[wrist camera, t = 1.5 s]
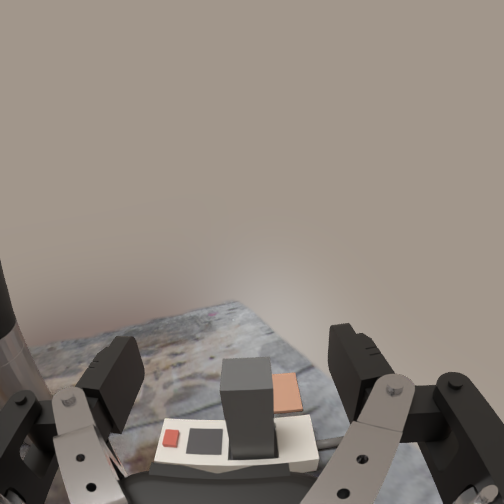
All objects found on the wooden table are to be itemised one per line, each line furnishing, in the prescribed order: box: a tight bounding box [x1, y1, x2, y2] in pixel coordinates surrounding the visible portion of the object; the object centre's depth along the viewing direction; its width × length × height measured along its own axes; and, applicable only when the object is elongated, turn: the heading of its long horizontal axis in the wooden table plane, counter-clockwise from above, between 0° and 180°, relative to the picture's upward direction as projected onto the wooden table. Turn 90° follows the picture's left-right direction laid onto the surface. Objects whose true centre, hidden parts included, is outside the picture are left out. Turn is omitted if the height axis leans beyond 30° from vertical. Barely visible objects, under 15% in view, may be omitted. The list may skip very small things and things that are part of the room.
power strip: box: [154, 415, 344, 473], centre depth 29 cm, size 22×7×4 cm, turn 91°
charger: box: [220, 357, 274, 460], centre depth 27 cm, size 4×5×12 cm
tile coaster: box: [272, 373, 303, 414], centre depth 39 cm, size 8×8×1 cm
